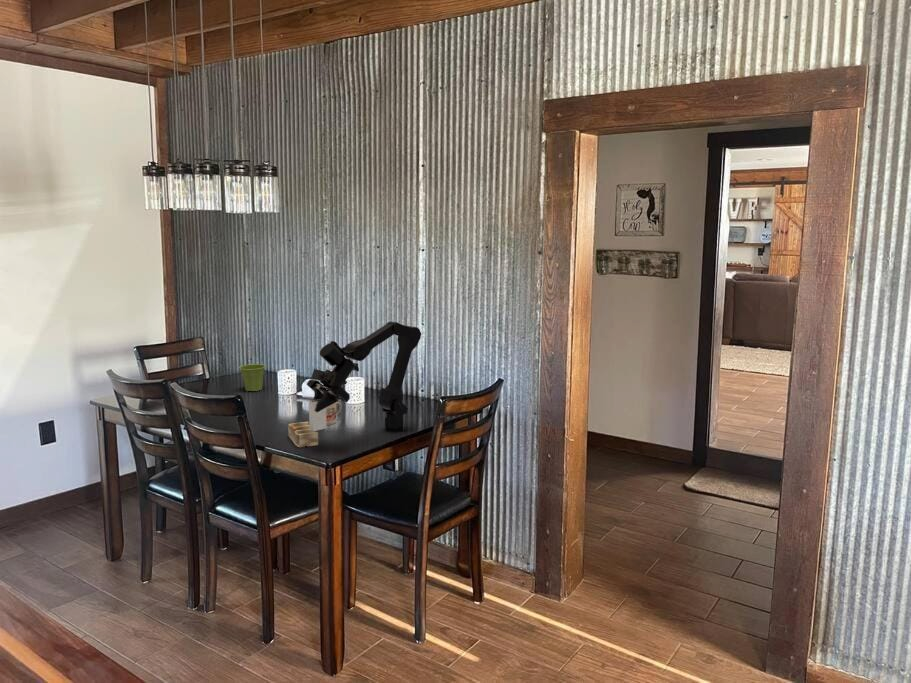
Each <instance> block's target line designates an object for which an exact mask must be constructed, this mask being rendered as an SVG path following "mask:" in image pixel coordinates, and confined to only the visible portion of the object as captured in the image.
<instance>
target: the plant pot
mask: <svg viewBox="0 0 911 683" xmlns="http://www.w3.org/2000/svg"><path fill="white" fill-rule="evenodd" d="M266 367H267V366H266V364H263V363H262V364H261V363H252V364H244V365H241V366H239V367H238V368H239V370H240V373H241V375H242V380H243V384H244V389H245V391H246V392H248V391H256V392H260V391H262V390H263V383H264V374H265V368H266ZM259 390H260V391H259Z"/></svg>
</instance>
